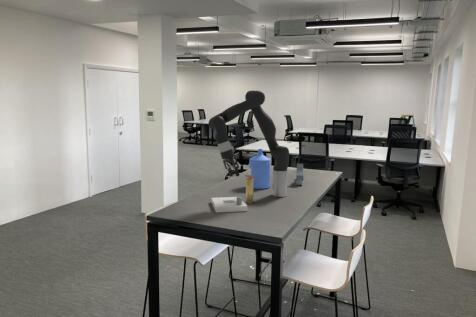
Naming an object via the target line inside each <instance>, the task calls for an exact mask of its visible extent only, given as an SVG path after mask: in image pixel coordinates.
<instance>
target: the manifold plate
mask: <svg viewBox="0 0 476 317" xmlns="http://www.w3.org/2000/svg"><path fill="white" fill-rule="evenodd" d="M211 205H212V207H213V209H214V211H215V212H216V213H231V212H232V213H235V212H248V204H247V203H246V201H244V200H243V197H241V196H229V197H228V196H227V197H225V196H223V197H222V196H221V197H211Z"/></svg>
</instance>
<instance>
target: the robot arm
mask: <svg viewBox="0 0 476 317" xmlns="http://www.w3.org/2000/svg"><path fill="white" fill-rule="evenodd" d="M244 97H245V98H244V99H245V100H244V101H242V102H239V103H236V104H233V105H232V106H230V107H228V108H226V109H225V110H223V111H222V112H220V113H218V114H216V115H214V116H213V117H210V119H209V120H208V127H209V128H211V129H212V130H215V132H216V134H215V135H214V138H215V141H216V144H217V149H218V151H219V154H220V158H221V159H222V163H223V165H224V169H225V170H227V172H228V175H229V177H233V176H234V175H235V177H240V172H239V169H240V165H239V163H238V160H237V159H236V157H235V152H234V149H233V146H232V144H231V141H230V139H229V137H228V134H227V123H229V122H231V121H233V120H234V119H236V118H238V117H239V116H240V115H242V114H245V113H246V112H248V111H251V112H252V114H253V117H254V119H255V121H256V122H257V125H258V128H259V130H260V132H261V133H262V135H263V137H264V140H265V142H266V144H267V147H268V149H269V153H270V155H271V157H272V158H273V159H274V160H278V163H277V164H275V165H273V168H272V197H275V198H277V197H278V198H285V197H287V192H288V191H287V190H288V189H287V188H288V168H289V164H290V163H289V162H290V150H289V148H288V147H287V146H284V145H279V144H278V143H279V142H278V141H277V139H276V133H277V129H276V128H277V127H276V125H275V123H274V121H273V119H272V118H271V116H270V115H269V113H268V112H266V111H265V110H264V109H263V108H262V105H263V104H264V103H265V101H266V95H265V93H264V92H263V91H262V90H248V91H247V92H246V94H245V95H244ZM234 157H235V158H234ZM233 172H234V173H233Z"/></svg>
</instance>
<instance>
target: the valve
mask: <svg viewBox="0 0 476 317" xmlns="http://www.w3.org/2000/svg"><path fill="white" fill-rule="evenodd" d="M244 177H245V180H244V181H245V204H246V205H249V204H250V205H251V204H253V203H254V188H253V181H254V179H253V178H254V176H251V175H248V174H245V175H244Z"/></svg>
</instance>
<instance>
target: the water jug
mask: <svg viewBox="0 0 476 317" xmlns="http://www.w3.org/2000/svg"><path fill="white" fill-rule="evenodd" d="M257 150H258V151H257V155H255V156H253V157H250V158H249V162H248V163H249V164H248V165H249V169H250V171H251V172H250V174H251V175H250V176H254V178H253V179H254V181H253V190H266V188H267V189H269V188H270V187H271V164H272V160H271V158H270V157H267V156H266V155H264V154H263V148H258V149H257Z"/></svg>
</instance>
